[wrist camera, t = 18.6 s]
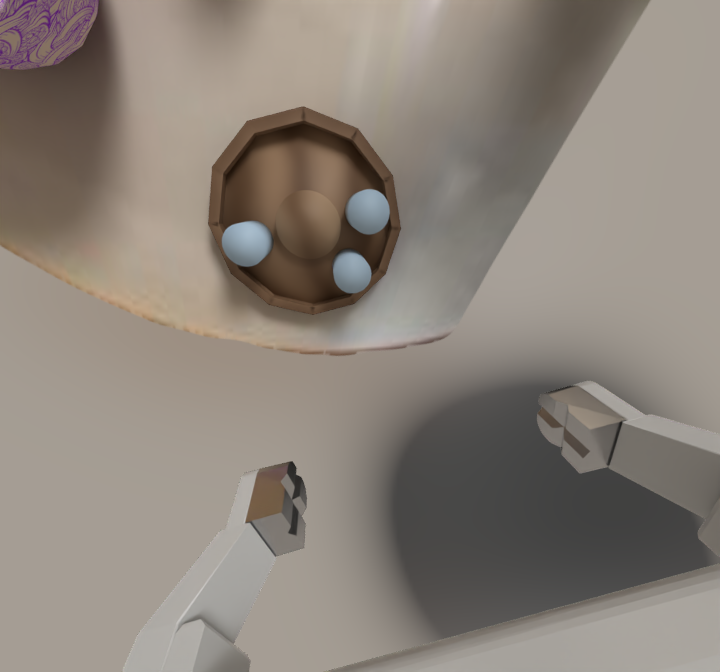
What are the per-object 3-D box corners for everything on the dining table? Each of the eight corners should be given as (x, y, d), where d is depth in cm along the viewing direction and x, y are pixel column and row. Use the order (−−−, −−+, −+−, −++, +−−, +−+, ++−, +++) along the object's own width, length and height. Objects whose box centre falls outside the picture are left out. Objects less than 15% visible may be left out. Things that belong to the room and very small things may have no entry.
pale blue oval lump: (265, 216, 30) (255, 218, 25) (278, 252, 32) (271, 260, 27) (230, 225, 30) (214, 229, 25) (245, 261, 32) (233, 271, 27)
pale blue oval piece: (376, 187, 30) (385, 184, 25) (382, 225, 32) (392, 228, 27) (341, 196, 30) (344, 195, 25) (349, 234, 32) (354, 239, 27)
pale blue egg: (367, 276, 34) (374, 287, 30) (337, 285, 34) (339, 297, 30) (360, 244, 32) (366, 251, 28) (328, 253, 32) (329, 261, 28)
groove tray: (374, 95, 27) (379, 86, 25) (404, 283, 36) (410, 289, 34) (182, 145, 27) (170, 140, 25) (260, 322, 36) (256, 329, 34)
